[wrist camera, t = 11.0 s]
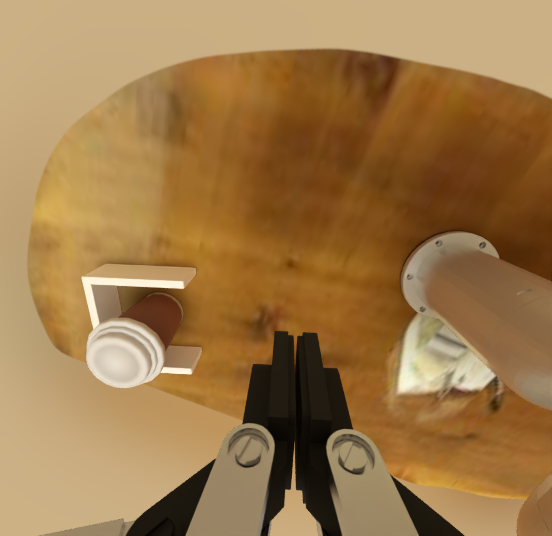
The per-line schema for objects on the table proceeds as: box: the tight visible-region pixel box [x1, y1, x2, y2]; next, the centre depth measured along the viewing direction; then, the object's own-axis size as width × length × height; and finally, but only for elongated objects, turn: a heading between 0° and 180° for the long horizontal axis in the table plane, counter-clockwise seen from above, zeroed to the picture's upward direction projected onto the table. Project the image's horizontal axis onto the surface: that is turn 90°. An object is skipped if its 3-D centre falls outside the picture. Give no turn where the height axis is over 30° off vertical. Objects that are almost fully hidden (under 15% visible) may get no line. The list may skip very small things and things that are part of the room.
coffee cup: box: [86, 292, 184, 388], centre depth 36 cm, size 9×9×12 cm
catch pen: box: [82, 264, 202, 374], centre depth 39 cm, size 13×14×5 cm
